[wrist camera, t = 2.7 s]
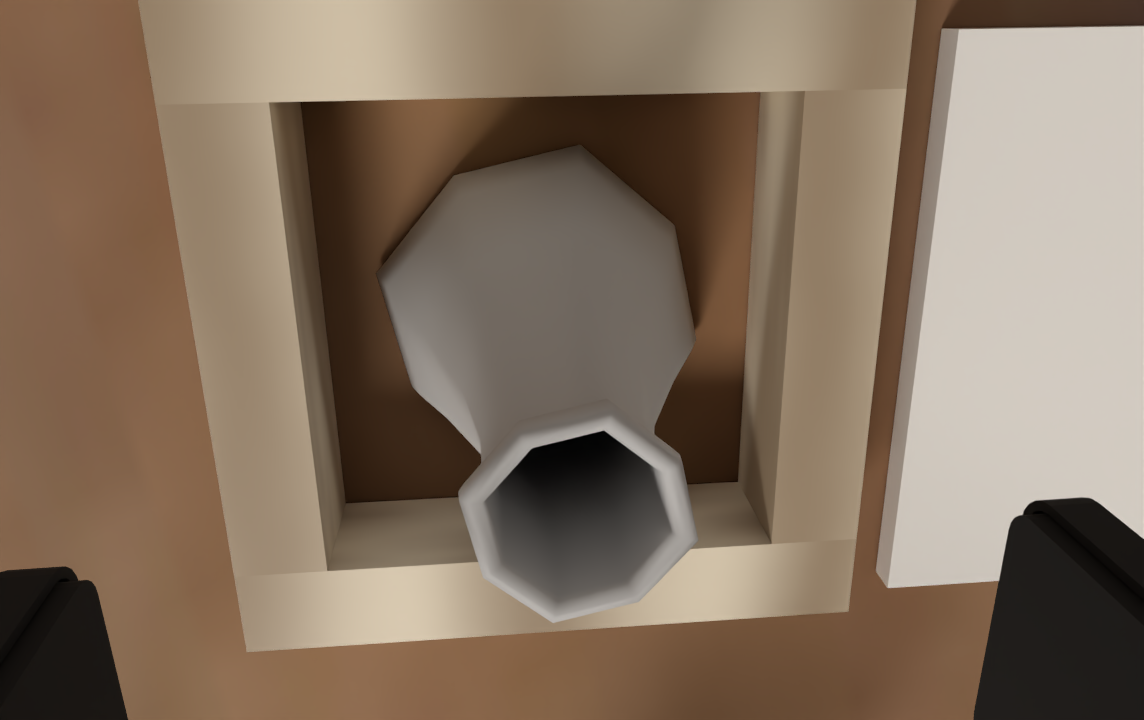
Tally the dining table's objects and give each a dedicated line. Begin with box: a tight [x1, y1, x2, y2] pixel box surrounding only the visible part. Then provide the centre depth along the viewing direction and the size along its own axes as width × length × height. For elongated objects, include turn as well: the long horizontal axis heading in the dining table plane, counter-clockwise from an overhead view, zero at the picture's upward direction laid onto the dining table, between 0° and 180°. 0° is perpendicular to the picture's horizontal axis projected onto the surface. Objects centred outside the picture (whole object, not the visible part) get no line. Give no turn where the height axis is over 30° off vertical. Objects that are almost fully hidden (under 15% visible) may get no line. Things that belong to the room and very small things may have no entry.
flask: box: [376, 145, 699, 623], centre depth 17 cm, size 7×7×10 cm
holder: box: [138, 0, 916, 652], centre depth 21 cm, size 14×14×3 cm
